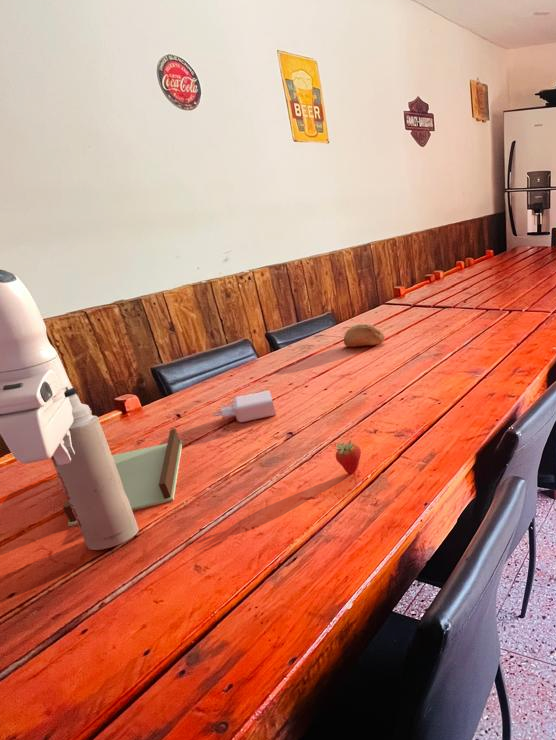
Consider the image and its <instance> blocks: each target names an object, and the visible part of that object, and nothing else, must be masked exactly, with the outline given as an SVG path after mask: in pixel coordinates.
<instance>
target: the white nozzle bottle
mask: <svg viewBox="0 0 556 740" xmlns="http://www.w3.org/2000/svg"><path fill="white" fill-rule="evenodd" d="M271 394H272V393H271V391H270V390H264V391H259V392H254V393H249V394H245V395H240V396H235V397H234V398H232V405H228V406H223V407H221V408H220V411H215V412H213V413H212V414H213V415H212V416H213V417H218V416H222V419H229V418H233V417H235V418H236V422H239V423H245V422H250V421H255V420H259V419H264V418H269V417H273V416H276V415H277V413H276V409H275V405H274V401H273V398H272V395H271Z"/></svg>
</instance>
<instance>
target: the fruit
mask: <svg viewBox="0 0 556 740" xmlns="http://www.w3.org/2000/svg"><path fill="white" fill-rule="evenodd" d="M338 442H339V444H337V442H336V443H335V447H336V448H334V449H335V450H336V452H335V459H336V461H337V463H338V464H339V465H341V467H342V468H343V469H344V471H345V472H346V473H347V474H350V475H351V474H354V473H356V471H358V467H359V465H360V459H361V455H362V450H361V448H360V446H359V445H357V444H355V442H353V443H352V439H349V441H348V442H347V443H346V444H345V443H344V442H343V441H342V440H341V439H339V441H338Z"/></svg>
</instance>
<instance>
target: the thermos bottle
mask: <svg viewBox="0 0 556 740" xmlns="http://www.w3.org/2000/svg"><path fill="white" fill-rule="evenodd" d="M64 394H65V397H69V401H70V403H71V406H72V415H73V417H74V422H73V423H72V425H71V427H70V428H69V431H70V435H71V442H72V447H73V449H74V452H75V454H74V456H73V458H72V460H71V462H70V463H68V464H63V465H59V464H57V462H56V460H55V458H54V456H52V457H51V458H50V459H51V461H52V464H53V466H54V469H55V471H56V474H57V477H58V479H59V482H60V483H61V486H62V488H63V491H64V494H65V496H66V499H67V498H68V501H69V503H70V506H71V508H72V511H73V513H74V516H75V518H76V520H77V523H78V528H79V530H80V533H81V535H82V537H83V540H84V543H85V545H86V547H87V549H89V550H91V551H100V550H106V549H110V548H113V547H116V546H118V545H121V544H123V543H126V542H127V541H129V540H130V539H132V538H133V537H135V536H136V535H137V534H138V532H139V531H140V530H139V525H138V522H137V520H136V516H135V514H134V511H132V509H131V506H130V503H129V501H128V498H127V496H126V494H125V491H124V489H123V486H122V482H121V479H120V476H119V473H118V470H117V468H116V465H115V462H114V459H113V457H112V455H113V454H112V451H111V449H110V446H109V444H108V441H107V438H106V434H105V432H104V430H103V427H102V424H101V422H100V419H99V417H98V416H97V415H93V414H92V412H93V411H92V410H91V408H90V406H89V405H88V404H85V403H82V402H81V400H80V397H79V395H78V390H77V388H76V387H73V388H71V389H69V390H66V391H65V393H64Z"/></svg>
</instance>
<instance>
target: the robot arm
mask: <svg viewBox="0 0 556 740" xmlns="http://www.w3.org/2000/svg"><path fill="white" fill-rule="evenodd" d="M71 388H74V387H73V385H72V382H71V381H70V378H69V377H68V374H67V372H66V369H65V367H64V365H63V363H62V360H61V358H60V356H59V353H58V352H57V350H56V348H54V346H53V345H52V344H51V342H50V341H49V339H48V335H47V326H46V322H45V321H44V319H43V316H42V314H41V312H40V310H39V308H38V306H37V303H36V302H35V300H34V298H33V297H32V294H31V293H30V291H29V290H28V289H27V287H26V285H25V284H24V283H23V282H22V281H21V280H20V278H19V277H17V276H16V275H15V274H14V273H12V272H9V271H7V270H5V269H0V436H1V438H2V440H3V441H4V443H5V445H6V446H7V448H8V449H9V452H10V453H11V455H12V456H13V457H14V458H15V459H16V461H18V462H20V463H21V464H22V465H28V464H34V463H39V462H43V461H47V460H50V459H51V457H52V456H54V458H55V460H56V462H57V464H59V465H63V464H68V463H70V462H71V460H72V458H73V456H74V454H75V452H74V449H73V447H72V442H71V435H70V431H69V428H70V427H71V425H72V423H73V422H74V417H73V415H72V406H71V403H70V401H69V397H65V394H64V393H65V391H66V390H69V389H71Z"/></svg>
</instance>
